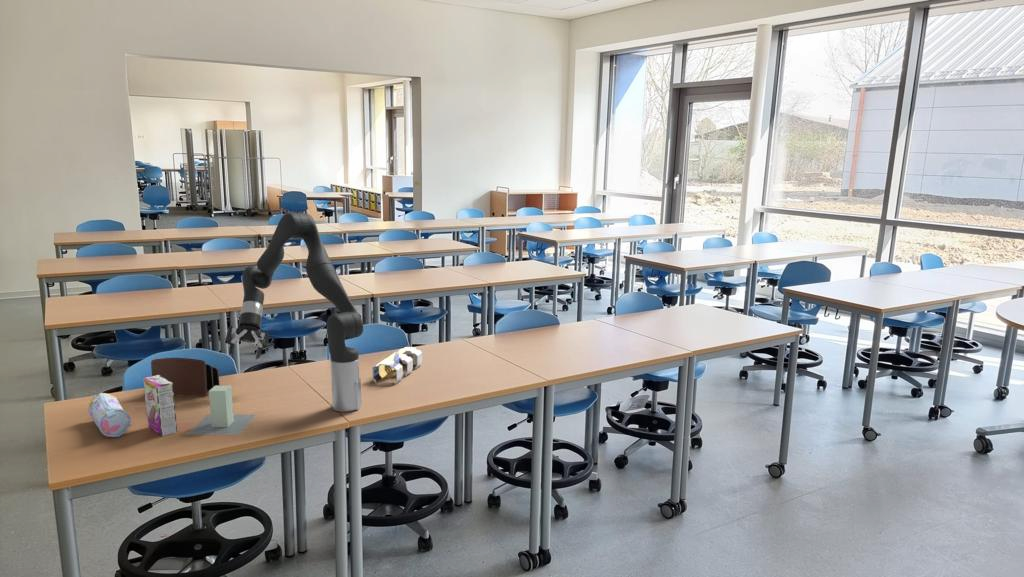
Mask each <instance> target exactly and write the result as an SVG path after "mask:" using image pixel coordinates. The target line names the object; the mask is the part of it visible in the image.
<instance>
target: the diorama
mask: <svg viewBox="0 0 1024 577" xmlns="http://www.w3.org/2000/svg"><path fill="white" fill-rule="evenodd" d="M422 363H423V352H422V351H421V350H420V349H417V348H416V347H415V346H414V347H413V346H405V347H404V348H400V349H396V350H395V352H394V353H392V354H391V355H389V356H388V357H386V358H384V359H383V360H381V361H379V363H377V364H376V365H374V366H372V367H371V368H372V369H371V370H372V372H371V373H372V376H371V377H372V379H373V381H374V383H377V382H379V381H380V380H381V379H383V378H384V377H386V376H387V375H388V374H390V373H392V372H393V371H394V370H395V371H396V372H395V373H396V375H395V376H396V380H395V381H394V382H393V384H394V385H396V384H398V383H399V382H400V381H401V379H403V377H406V376H408V375H410V373H411V372H412V371H413V370H415V369H418V367H420V366H421V364H422ZM403 365H406V373H405V374H404V373H403V370H404V369H403ZM403 374H404V375H403Z"/></svg>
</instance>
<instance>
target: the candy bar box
mask: <svg viewBox="0 0 1024 577" xmlns="http://www.w3.org/2000/svg"><path fill="white" fill-rule="evenodd" d="M142 381H143V390H144V397H145V409H146V417H147V418H146V419H147V426H148V428H149V429H151V430H153V431H154V432H155V433H157V434H158V435H159V436H160V437H165V436H167V435H168V436H169V435H172V434H176V433H178V424H177V415H176V405H175V403H176V402H175V396H174V393H173V383H172V382H170V381H168V380H167V379H165V378H163V377H162V376H160V375H155V376H152V375H151V376H146V377H143V378H142Z"/></svg>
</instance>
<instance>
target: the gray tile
mask: <svg viewBox="0 0 1024 577" xmlns="http://www.w3.org/2000/svg"><path fill="white" fill-rule="evenodd" d="M256 416H257V414H233V417H234V421H233V422H232V423H231V424H230V425H229V426H228V427H212V424H211V414H207V415H206V416H205V417H204V418H202V420H200V421H199V422H198V423H197V424H196V425H195V426H194V427H193V428H191V429H190V430H189V431H188V432H187V433H186V435H188V436H189V435H190V436H191V435H195V436H196V435H240V434H241V433H242V432H243V431H244V430H245V429H246V427H247V426H249V424H250V423H251V422H252V421H253V420H254V419H255V417H256Z"/></svg>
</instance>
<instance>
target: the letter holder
mask: <svg viewBox="0 0 1024 577" xmlns="http://www.w3.org/2000/svg"><path fill="white" fill-rule="evenodd" d="M150 367H151V368H150V369H151V376H155V375H160V376H162V377H163V378H165V379H167V380H168V381H170V382H172V383H173V393H174V395H183V397H206V396H207V397H208V396H209V390H211V389H212V388H213V387H214V386H221V384H220V373H219V369H218V368H217V367H214V366H212V365H211V364H208V363H206V361H204V360H201V359H196V358H186V357H163V358H154V359H152V360H151V362H150Z"/></svg>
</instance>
